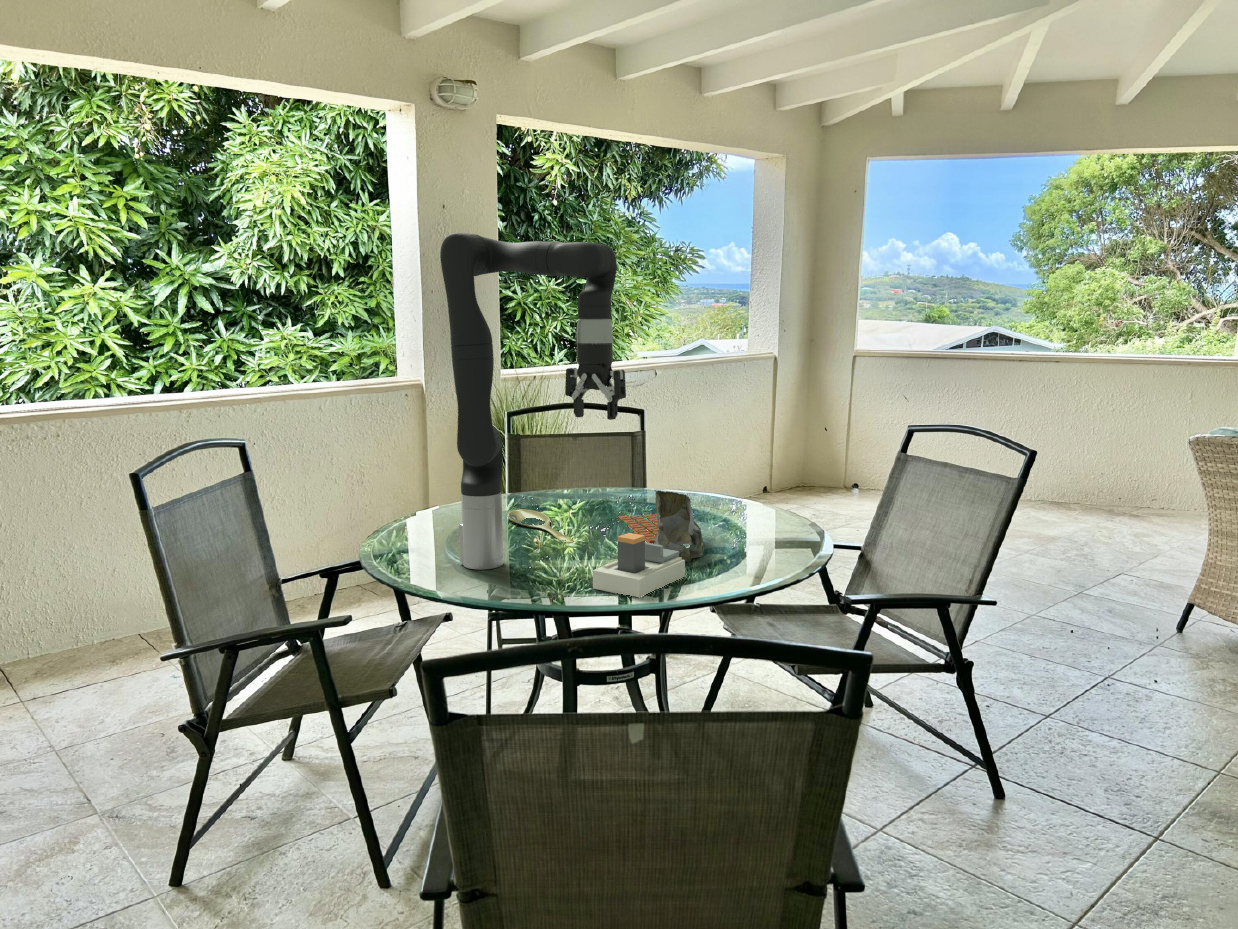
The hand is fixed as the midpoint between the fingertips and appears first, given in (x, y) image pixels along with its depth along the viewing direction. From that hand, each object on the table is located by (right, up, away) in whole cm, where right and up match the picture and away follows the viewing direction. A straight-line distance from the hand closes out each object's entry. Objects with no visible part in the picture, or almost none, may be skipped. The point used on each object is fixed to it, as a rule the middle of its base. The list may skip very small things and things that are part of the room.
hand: (595, 418), depth 193 cm
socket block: (+9, -36, +6) cm, 37 cm away
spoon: (-16, -28, +55) cm, 64 cm away
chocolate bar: (+15, -28, +55) cm, 63 cm away
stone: (+19, -31, +33) cm, 49 cm away
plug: (+8, -35, +3) cm, 36 cm away
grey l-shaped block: (+13, -31, +10) cm, 35 cm away
